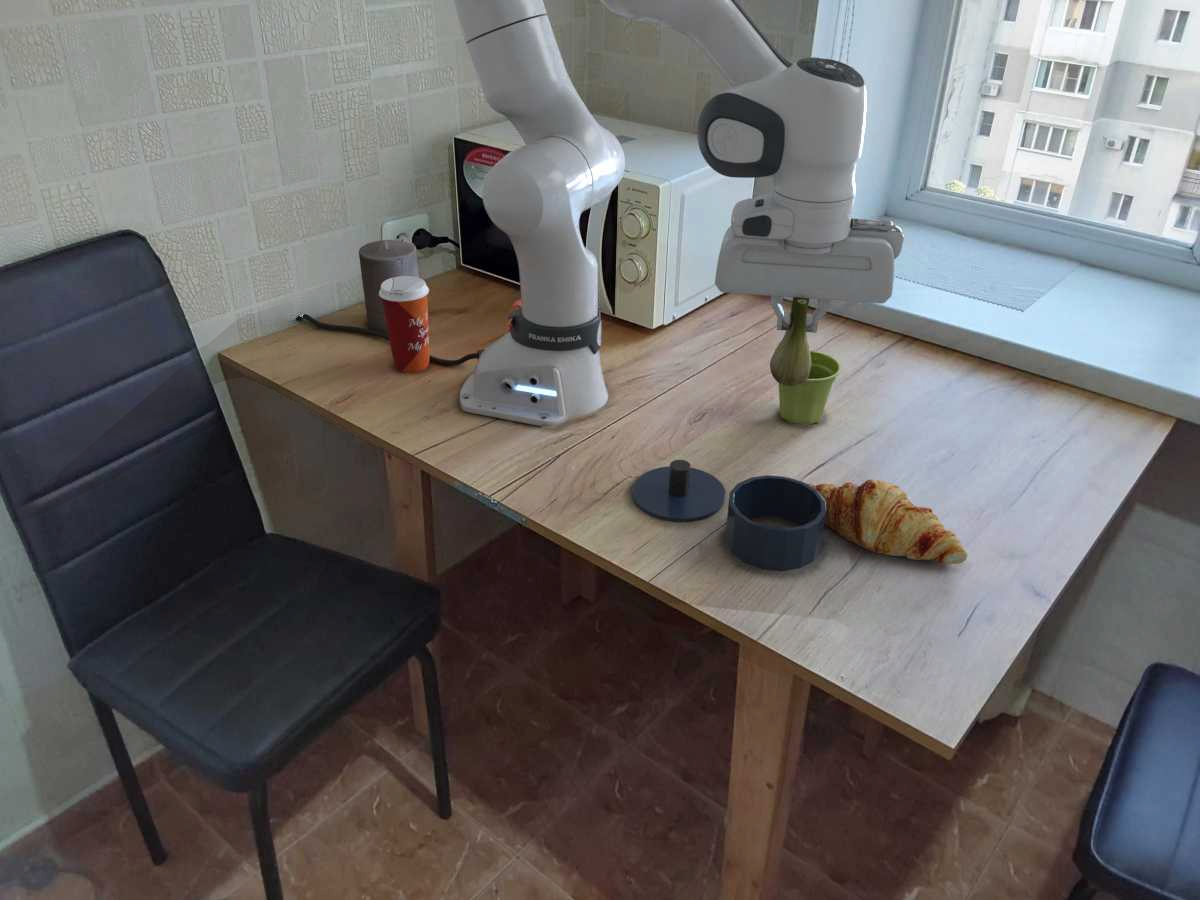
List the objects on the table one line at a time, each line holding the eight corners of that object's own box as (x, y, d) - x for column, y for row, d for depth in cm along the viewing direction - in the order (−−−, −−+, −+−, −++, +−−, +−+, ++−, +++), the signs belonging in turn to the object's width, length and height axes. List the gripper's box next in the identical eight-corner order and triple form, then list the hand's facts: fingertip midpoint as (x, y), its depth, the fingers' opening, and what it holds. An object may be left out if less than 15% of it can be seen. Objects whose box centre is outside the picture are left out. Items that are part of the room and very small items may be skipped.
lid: (626, 520, 120) (626, 486, 117) (637, 469, 130) (638, 436, 127) (722, 530, 118) (725, 496, 116) (727, 477, 128) (729, 444, 126)
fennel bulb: (797, 395, 115) (809, 302, 109) (759, 384, 117) (769, 292, 111) (816, 376, 119) (829, 286, 113) (779, 366, 122) (790, 276, 115)
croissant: (965, 579, 116) (989, 517, 114) (948, 587, 107) (974, 520, 106) (805, 514, 126) (826, 457, 125) (778, 517, 118) (799, 455, 116)
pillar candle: (356, 324, 169) (344, 242, 161) (399, 307, 176) (390, 228, 168) (392, 340, 164) (382, 256, 156) (435, 322, 170) (427, 240, 162)
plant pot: (833, 436, 137) (841, 382, 133) (766, 429, 139) (772, 375, 134) (833, 404, 145) (840, 352, 141) (770, 398, 147) (775, 347, 142)
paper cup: (427, 377, 152) (419, 294, 145) (381, 373, 153) (370, 291, 146) (442, 355, 159) (434, 275, 152) (397, 352, 160) (388, 272, 153)
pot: (723, 569, 112) (726, 525, 109) (727, 513, 121) (731, 471, 118) (820, 578, 110) (827, 534, 107) (817, 522, 120) (824, 479, 116)
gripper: (903, 213, 109) (883, 325, 116) (722, 202, 111) (713, 312, 119) (910, 231, 103) (888, 347, 111) (719, 219, 106) (710, 334, 113)
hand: (796, 329), depth 115 cm, fingers closed on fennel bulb
